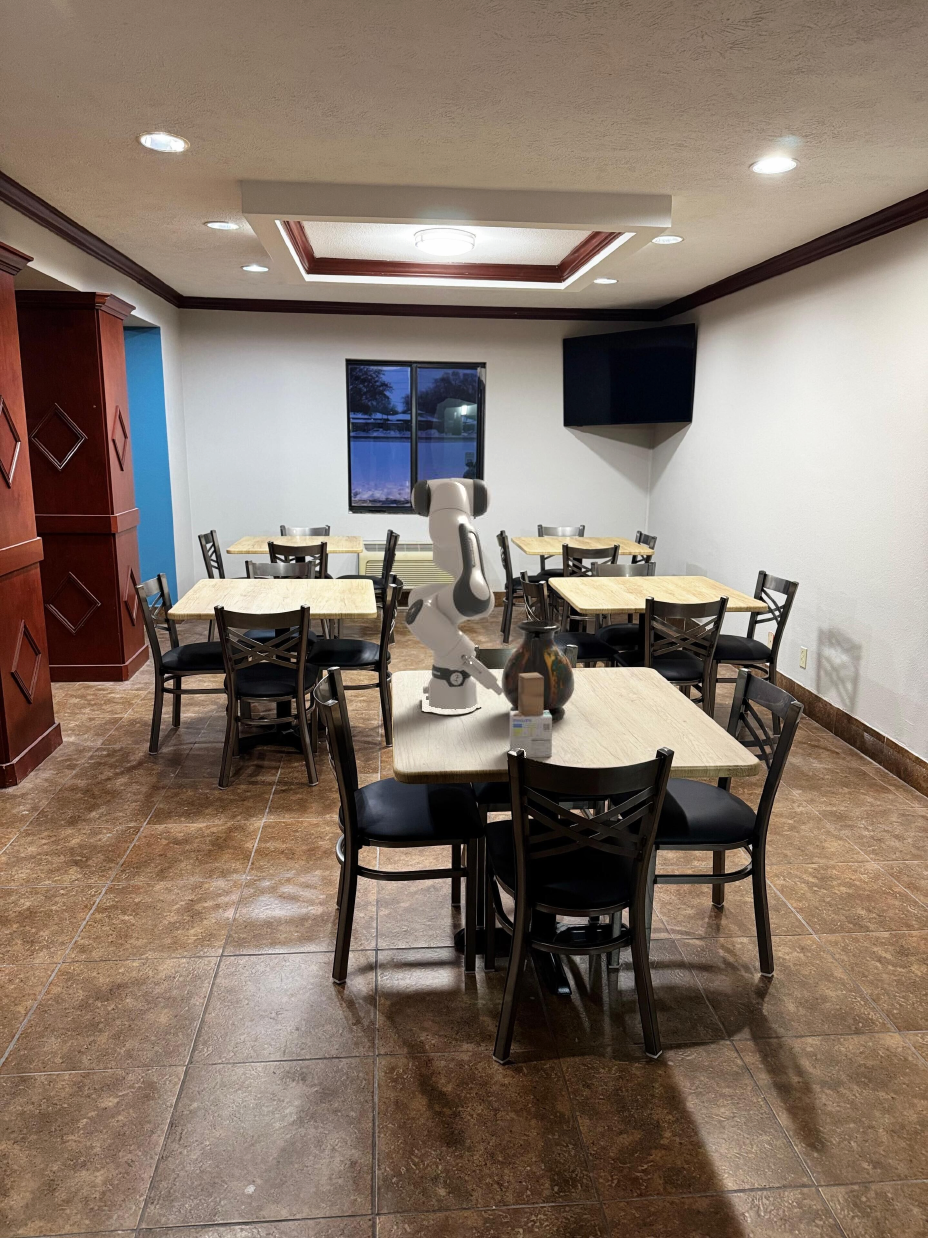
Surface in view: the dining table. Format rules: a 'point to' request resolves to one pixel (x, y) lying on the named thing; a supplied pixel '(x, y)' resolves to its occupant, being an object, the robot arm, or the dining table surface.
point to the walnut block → (531, 694)
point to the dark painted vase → (540, 667)
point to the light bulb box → (531, 733)
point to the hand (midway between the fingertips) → (495, 688)
